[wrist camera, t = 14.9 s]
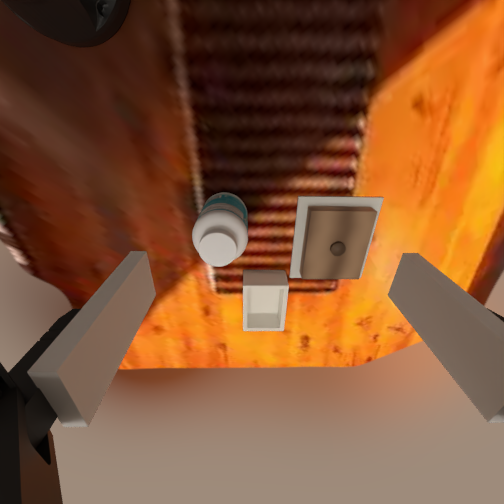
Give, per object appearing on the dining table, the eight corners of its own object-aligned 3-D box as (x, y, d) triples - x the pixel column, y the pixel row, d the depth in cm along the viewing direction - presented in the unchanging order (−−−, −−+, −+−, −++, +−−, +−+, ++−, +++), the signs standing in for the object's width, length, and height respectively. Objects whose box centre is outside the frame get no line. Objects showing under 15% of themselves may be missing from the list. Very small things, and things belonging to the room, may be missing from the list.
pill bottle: (233, 239, 44) (229, 285, 32) (196, 219, 42) (176, 260, 30) (256, 205, 41) (259, 241, 29) (216, 181, 39) (203, 210, 27)
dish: (243, 313, 52) (243, 330, 48) (243, 269, 47) (243, 285, 43) (280, 313, 52) (283, 330, 48) (284, 270, 47) (288, 285, 43)
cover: (299, 271, 47) (302, 281, 44) (308, 205, 41) (312, 212, 38) (353, 271, 47) (360, 281, 44) (370, 206, 41) (380, 213, 38)
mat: (289, 276, 48) (289, 277, 48) (298, 196, 40) (298, 196, 40) (360, 276, 48) (360, 277, 48) (382, 197, 40) (383, 197, 40)
